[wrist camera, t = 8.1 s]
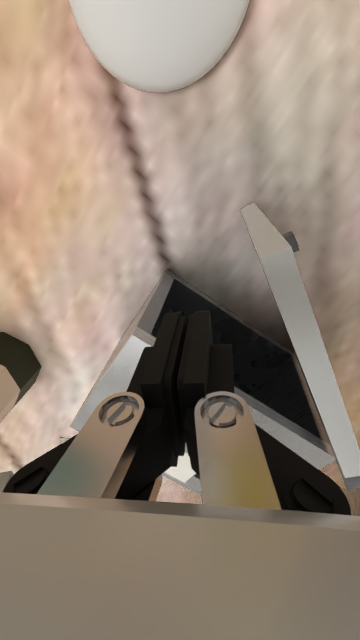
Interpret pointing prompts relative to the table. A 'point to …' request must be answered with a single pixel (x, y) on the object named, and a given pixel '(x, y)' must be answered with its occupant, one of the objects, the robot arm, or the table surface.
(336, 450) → the door
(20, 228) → the table surface
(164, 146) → the table surface
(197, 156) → the table surface
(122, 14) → the flower in vase
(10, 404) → the wine bottle
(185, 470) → the fader
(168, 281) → the white slider console
